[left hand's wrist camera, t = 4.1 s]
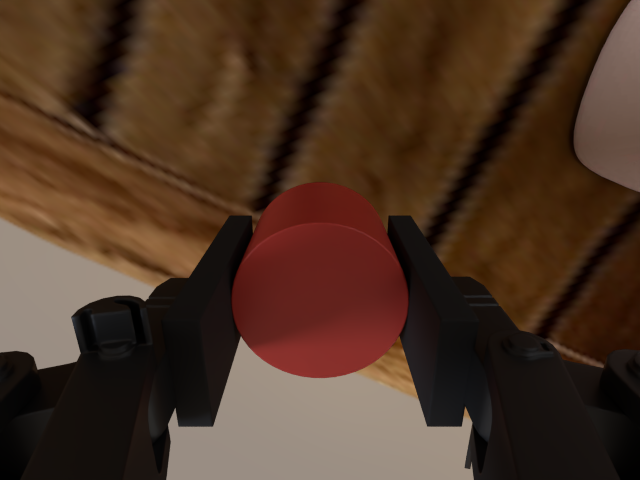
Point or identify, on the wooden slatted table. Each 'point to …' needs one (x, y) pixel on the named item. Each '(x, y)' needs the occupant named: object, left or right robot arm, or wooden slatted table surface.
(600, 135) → the anatomical model
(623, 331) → the wooden slatted table surface
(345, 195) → the red cylinder
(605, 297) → the wooden slatted table surface
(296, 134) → the wooden slatted table surface
